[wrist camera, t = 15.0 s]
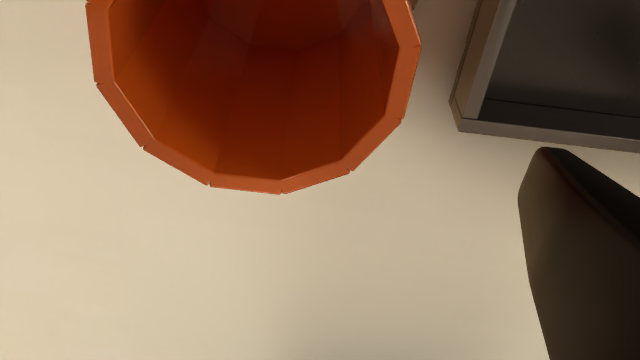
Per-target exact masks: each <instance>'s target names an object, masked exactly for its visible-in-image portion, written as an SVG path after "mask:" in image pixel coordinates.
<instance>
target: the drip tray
mask: <svg viewBox="0 0 640 360" xmlns="http://www.w3.org/2000/svg"><path fill="white" fill-rule="evenodd" d="M449 104H450V107H451V110H452V113H453V117H454V120H455V123H456V126H457V129H458V131H459V132H467V133H475V134H483V135H492V136H500V137H508V138H517V139H525V140H533V141H541V142H550V143H558V144H566V145H575V146H583V147H591V148H600V149H608V150H616V151H624V152H633V153H640V0H478V4H477V7H476V11H475V14H474V17H473V21H472V24H471V28H470V31H469V34H468V38H467V41H466V45H465V48H464V51H463V55H462V58H461V61H460V65H459V68H458V72H457V75H456V78H455V82H454V85H453V89H452V92H451V95H450V99H449Z"/></svg>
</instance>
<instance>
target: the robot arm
mask: <svg viewBox="0 0 640 360" xmlns="http://www.w3.org/2000/svg"><path fill="white" fill-rule="evenodd" d="M518 208H519V215H520V222H521V229H522V236H523V243H524V250H525V257H526V264H527V271H528V277H529V282H530V287H531V291H532V295H533V299H534V303H535V306H536V310H537V314H538V317H539V321H540V325H541V328H542V332H543V336H544V339H545V343H546V347H547V350H548V354H549V358H550V360H640V198H639V197H638V196H636V195H635V194H633V193H631V192H630V191H628V190H627V189H625V188H624V187H622V186H621V185H619V184H618V183H616V182H615V181H613V180H612V179H610V178H609V177H607V176H606V175H604V174H603V173H601V172H600V171H598V170H597V169H595V168H594V167H592V166H591V165H589V164H588V163H586V162H585V161H583V160H582V159H580V158H579V157H577V156H576V155H574V154H573V153H571V152H569V151H568V150H565V149H560V148H552V147H541V148H539V149H537V151H536V152H535V153H534V155H533V157H532V160H531V162H530V164H529V167H528V169H527V172H526V174H525V176H524V179H523V181H522V183H521V186H520V189H519V192H518Z"/></svg>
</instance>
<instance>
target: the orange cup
mask: <svg viewBox="0 0 640 360" xmlns="http://www.w3.org/2000/svg"><path fill="white" fill-rule="evenodd" d="M86 1H87V3H86V5H85V7H86V15H87V24H88V32H89V41H90V49H91V57H92V66H93V74H94V81H95V82H96V83H97V84H96V86H97V88H98V89H99V91H100V92H101V93H102V95H103V96H104V98H105V99H106V100H107V102H108V103H109V105H110V106H111V107H112V109H113V110H114V111H115V113H116V114H117V116H118V117H119V118H120V120H121V121H122V123H123V124H124V125H125V127H126V128H127V130H128V131H129V132H130V134H131V135H132V136H133V138H134V139H135V141H136V142H137V143H138V145H139V146H140V147H142V146H144V147H143V150H145V151H146V152H148V153H150V154H152V155H153V156H155V157H157V158H159V159H160V160H162V161H164V162H166V163H167V164H169V165H171V166H173V167H175V168H176V169H178V170H180V171H182V172H183V173H185V174H187V175H189V176H190V177H192V178H194V179H196V180H197V181H199V182H201V183H203V184H205V185H208V184H209V183H210V187H216V188H225V189H234V190H243V191H251V192H260V193H269V194H278V195H280V194H281V193H282V192H283V194H287V193H290V192H293V191H296V190H299V189H303V188H306V187H309V186H312V185H315V184H318V183H321V182H324V181H327V180H331V179H334V178H337V177H340V176H343V175H346V174H349V173H350V170H351V171H354V170H355V169H356V168H357V167H358V166H359V165H360V164H361V163H362V162H363V161H364V160H365V159H366V158H367V157H368V156H369V155H370V154H371V153H372V152H373V151H374V150H375V149H376V148H377V147H378V146H379V145H380V144H381V143H382V142H383V141H384V140H385V139H386V138H387V137H388V136H389V135H390V134H391V133H392V132H393V131H394V130H395V129H396V128H397V127H398V126H399V125H400V123H401V119H403V118H404V116H405V112H406V108H407V104H408V100H409V96H410V91H411V87H412V83H413V79H414V75H415V71H416V67H417V63H418V59H419V55H420V51H421V46H420V43H421V40H420V36H419V33H418V29H417V26H416V22H415V18H414V15H413V11H412V8H411V4H410V1H409V0H86Z"/></svg>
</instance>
